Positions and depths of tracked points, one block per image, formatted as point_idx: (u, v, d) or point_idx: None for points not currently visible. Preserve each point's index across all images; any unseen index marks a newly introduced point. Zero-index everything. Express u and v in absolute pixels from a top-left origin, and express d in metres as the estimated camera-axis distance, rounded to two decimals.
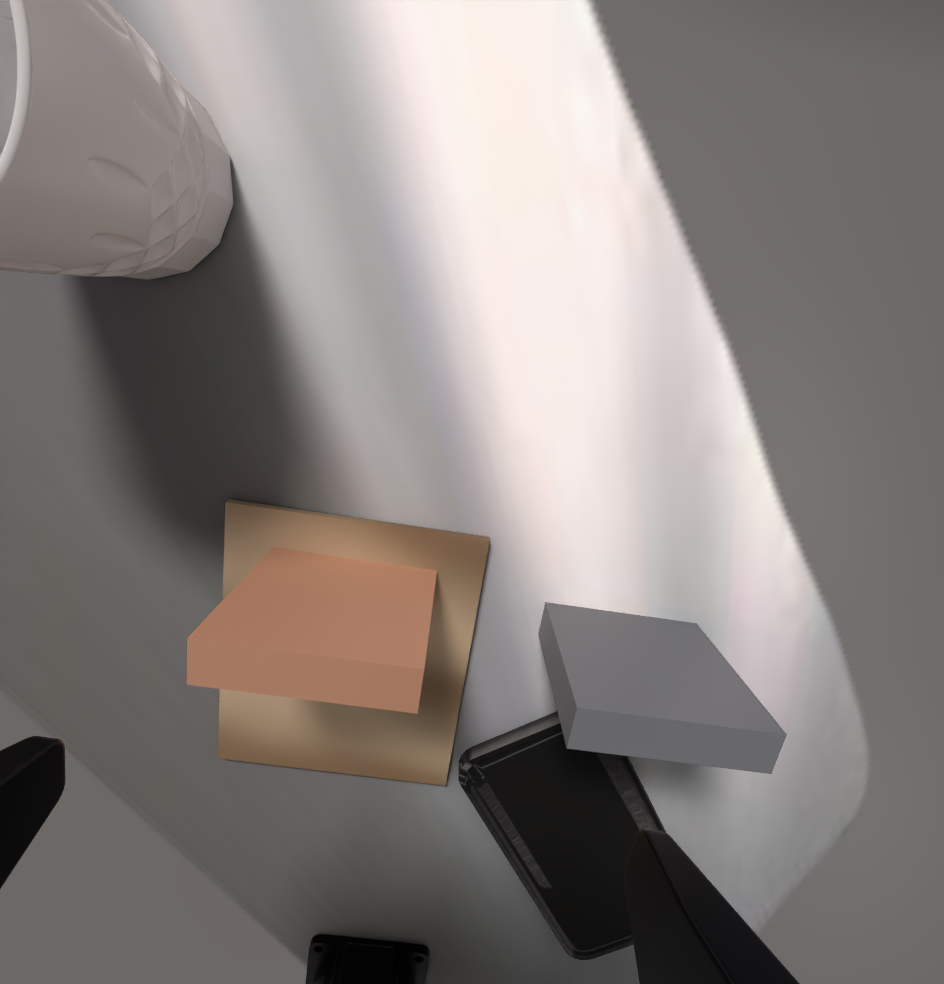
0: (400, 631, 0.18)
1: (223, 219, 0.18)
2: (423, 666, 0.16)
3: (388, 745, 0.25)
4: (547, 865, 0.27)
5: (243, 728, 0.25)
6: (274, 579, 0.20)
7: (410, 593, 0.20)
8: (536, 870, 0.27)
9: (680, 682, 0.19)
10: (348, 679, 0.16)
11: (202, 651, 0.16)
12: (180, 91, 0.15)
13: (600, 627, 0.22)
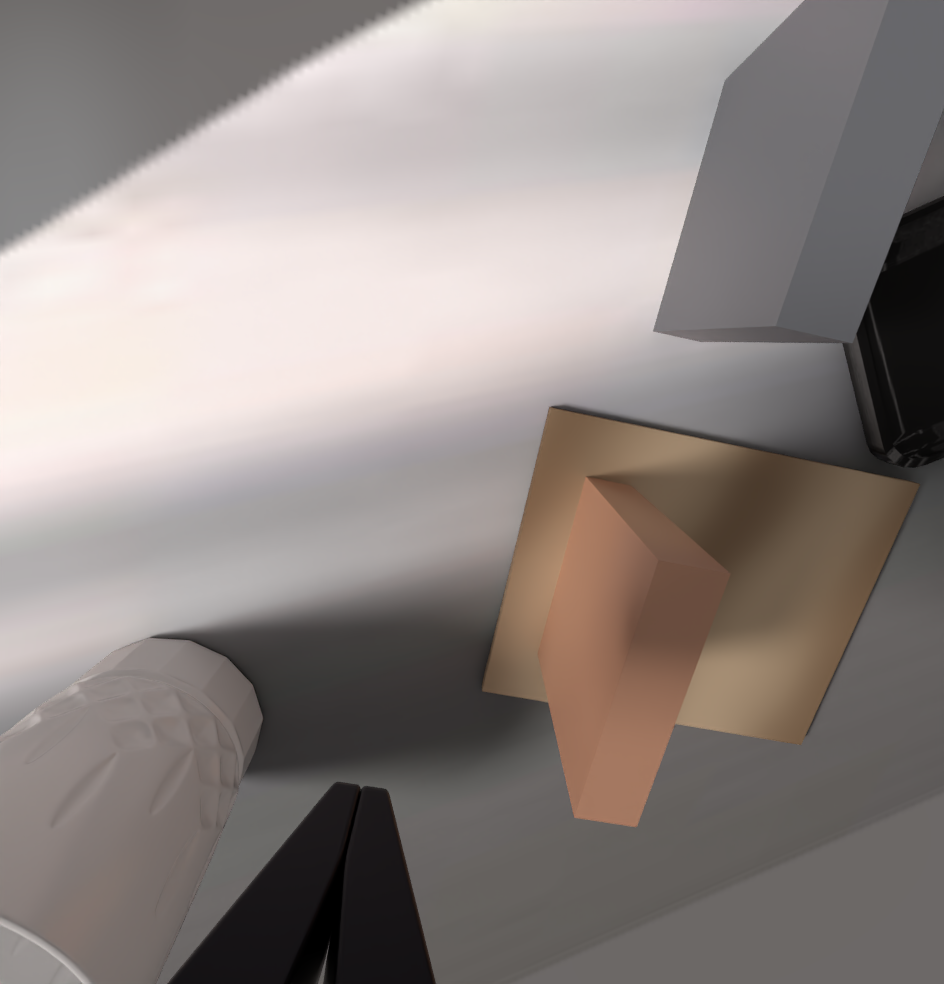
0: (620, 563, 0.13)
1: (200, 653, 0.19)
2: (655, 559, 0.11)
3: (831, 554, 0.19)
4: None
5: (766, 713, 0.20)
6: (556, 675, 0.17)
7: (595, 525, 0.16)
8: None
9: (790, 119, 0.11)
10: (659, 655, 0.12)
11: (593, 805, 0.13)
12: (71, 688, 0.17)
13: (694, 253, 0.15)
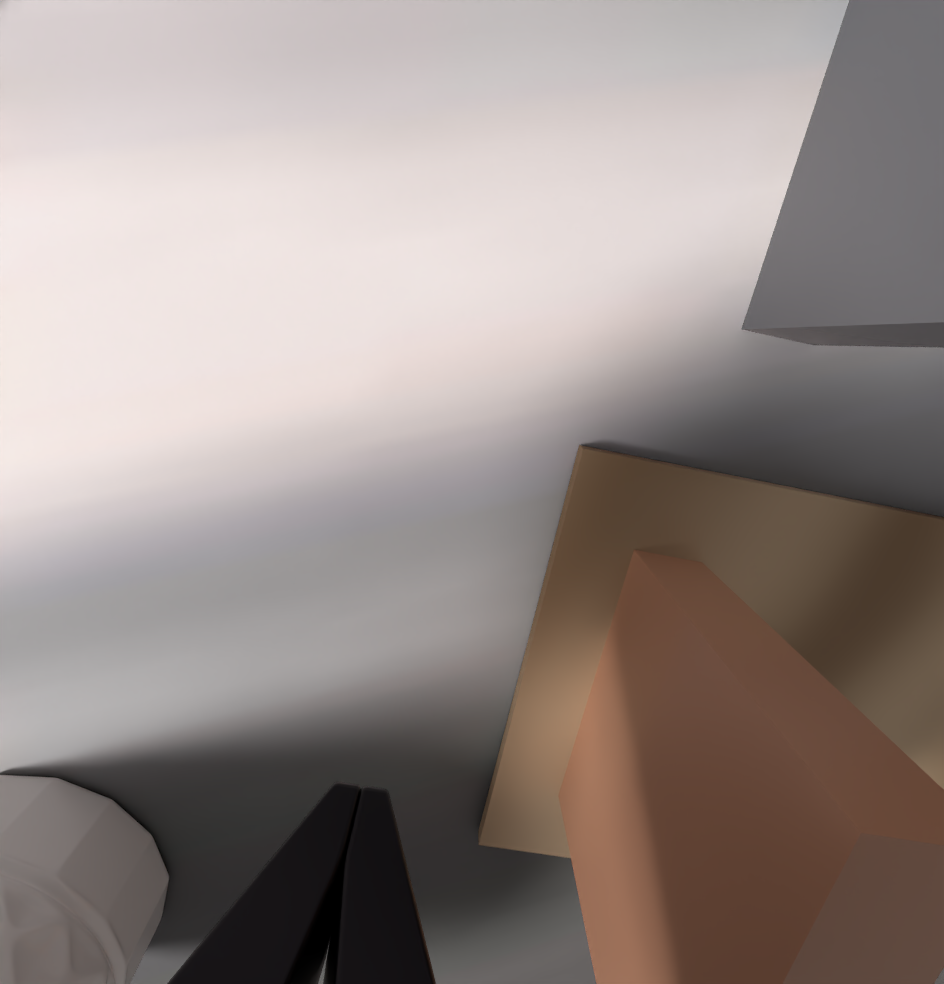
0: (730, 757, 0.07)
1: (69, 799, 0.13)
2: (849, 823, 0.05)
3: None
4: None
5: None
6: (593, 868, 0.11)
7: (659, 644, 0.10)
8: None
9: None
10: None
11: None
12: None
13: (832, 196, 0.09)
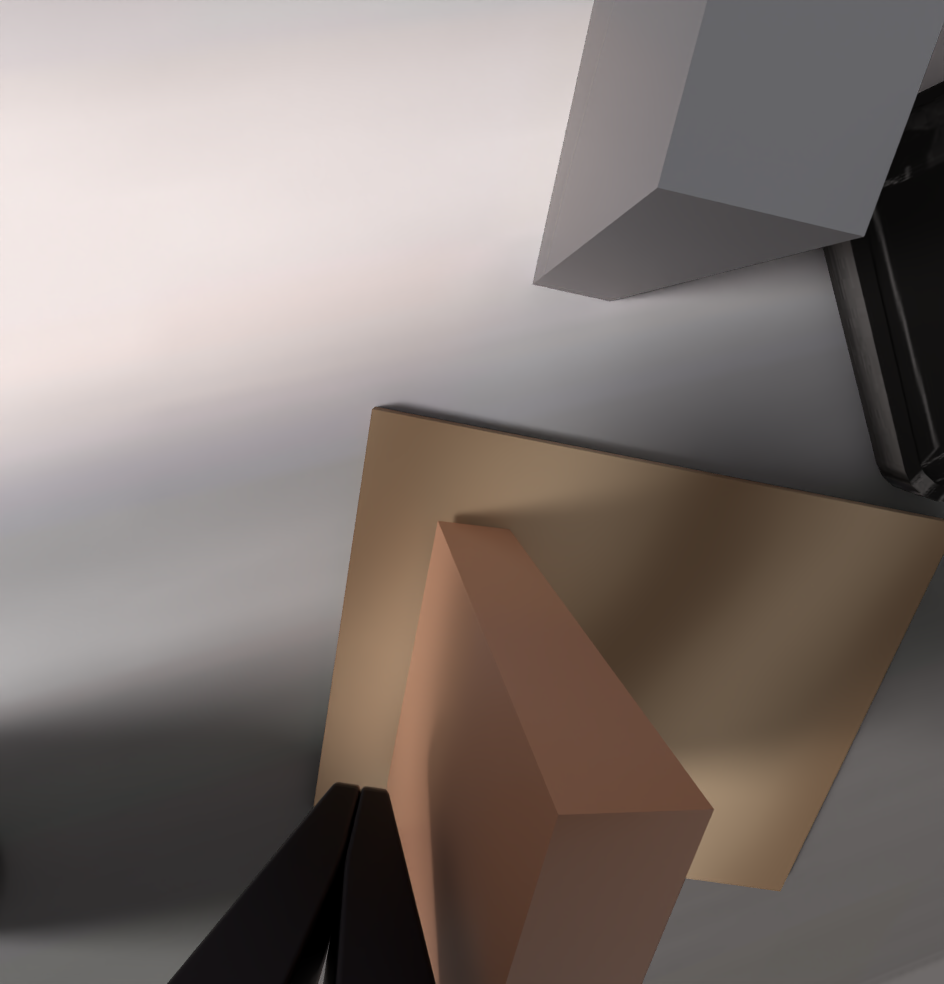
0: (483, 737, 0.07)
1: None
2: (551, 804, 0.05)
3: (822, 629, 0.12)
4: None
5: (728, 850, 0.14)
6: None
7: (448, 619, 0.09)
8: None
9: None
10: (569, 980, 0.05)
11: None
12: None
13: (575, 134, 0.08)
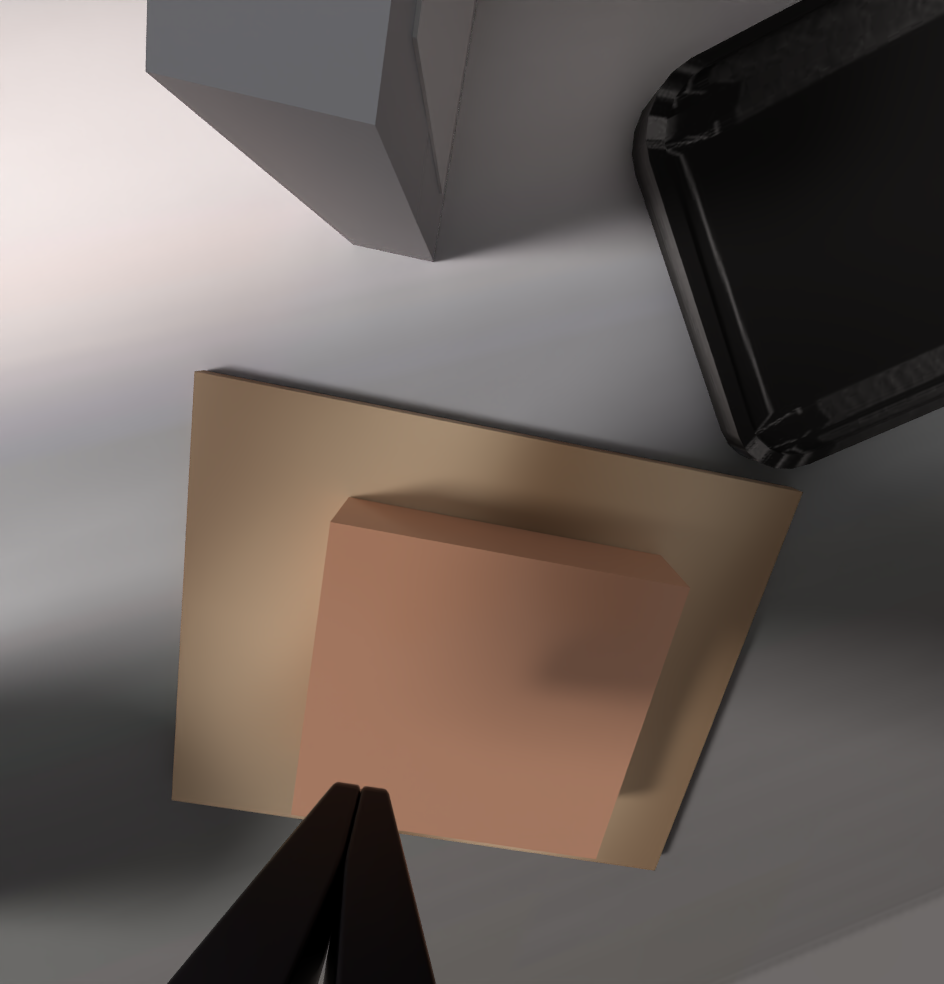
0: (581, 613, 0.10)
1: None
2: (683, 588, 0.10)
3: None
4: None
5: None
6: (421, 796, 0.12)
7: (447, 587, 0.10)
8: None
9: None
10: None
11: None
12: None
13: None
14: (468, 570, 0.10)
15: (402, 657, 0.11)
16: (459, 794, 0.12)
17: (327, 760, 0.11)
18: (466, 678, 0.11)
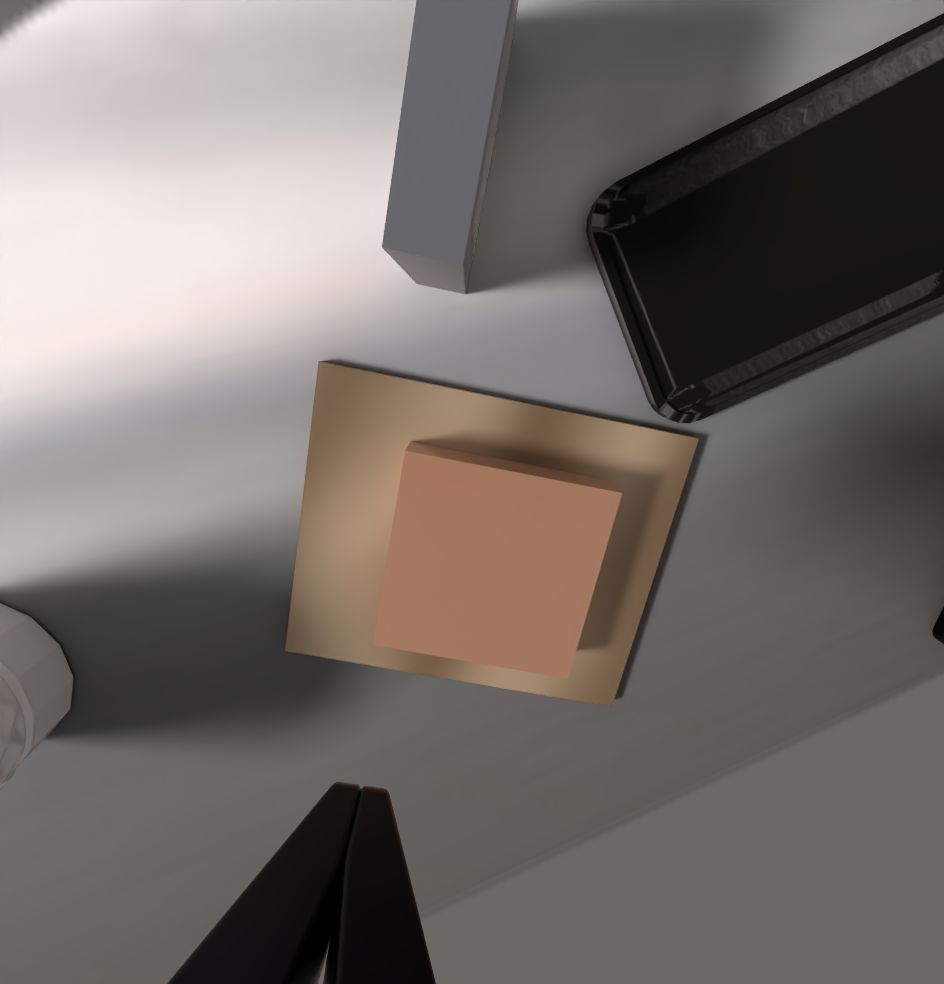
0: (556, 509, 0.17)
1: None
2: (618, 493, 0.17)
3: (618, 510, 0.19)
4: (887, 281, 0.16)
5: (572, 674, 0.20)
6: (456, 632, 0.18)
7: (474, 492, 0.17)
8: (894, 300, 0.17)
9: None
10: None
11: None
12: None
13: None
14: (487, 481, 0.17)
15: (446, 537, 0.17)
16: (480, 631, 0.18)
17: (397, 607, 0.18)
18: (485, 551, 0.17)
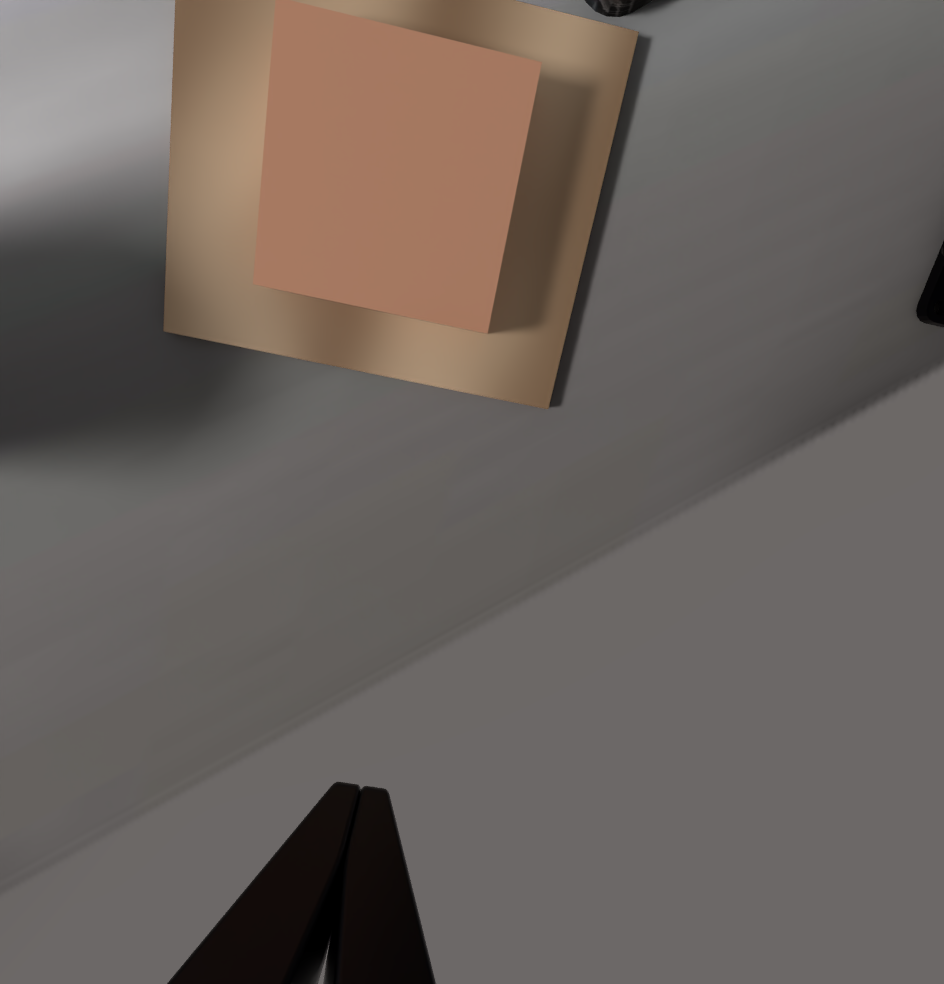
0: (463, 86, 0.14)
1: None
2: (536, 62, 0.14)
3: (546, 135, 0.16)
4: None
5: (501, 364, 0.18)
6: (351, 267, 0.15)
7: (363, 60, 0.14)
8: None
9: None
10: None
11: None
12: None
13: None
14: (377, 43, 0.14)
15: (332, 126, 0.14)
16: (380, 265, 0.15)
17: (279, 229, 0.15)
18: (380, 148, 0.14)
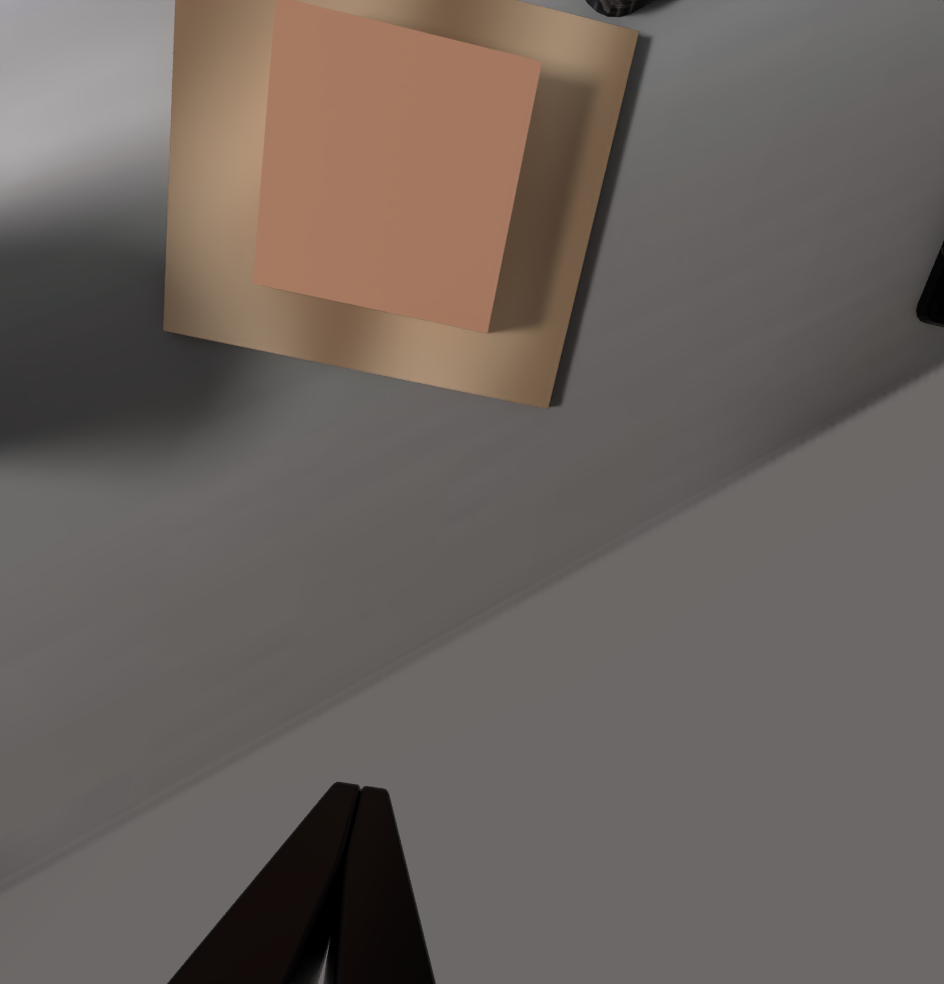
0: (463, 85, 0.14)
1: None
2: (537, 61, 0.14)
3: (546, 134, 0.16)
4: None
5: (501, 364, 0.18)
6: (351, 266, 0.15)
7: (363, 59, 0.14)
8: None
9: None
10: None
11: None
12: None
13: None
14: (378, 42, 0.14)
15: (332, 125, 0.14)
16: (380, 264, 0.15)
17: (279, 228, 0.15)
18: (380, 147, 0.14)
